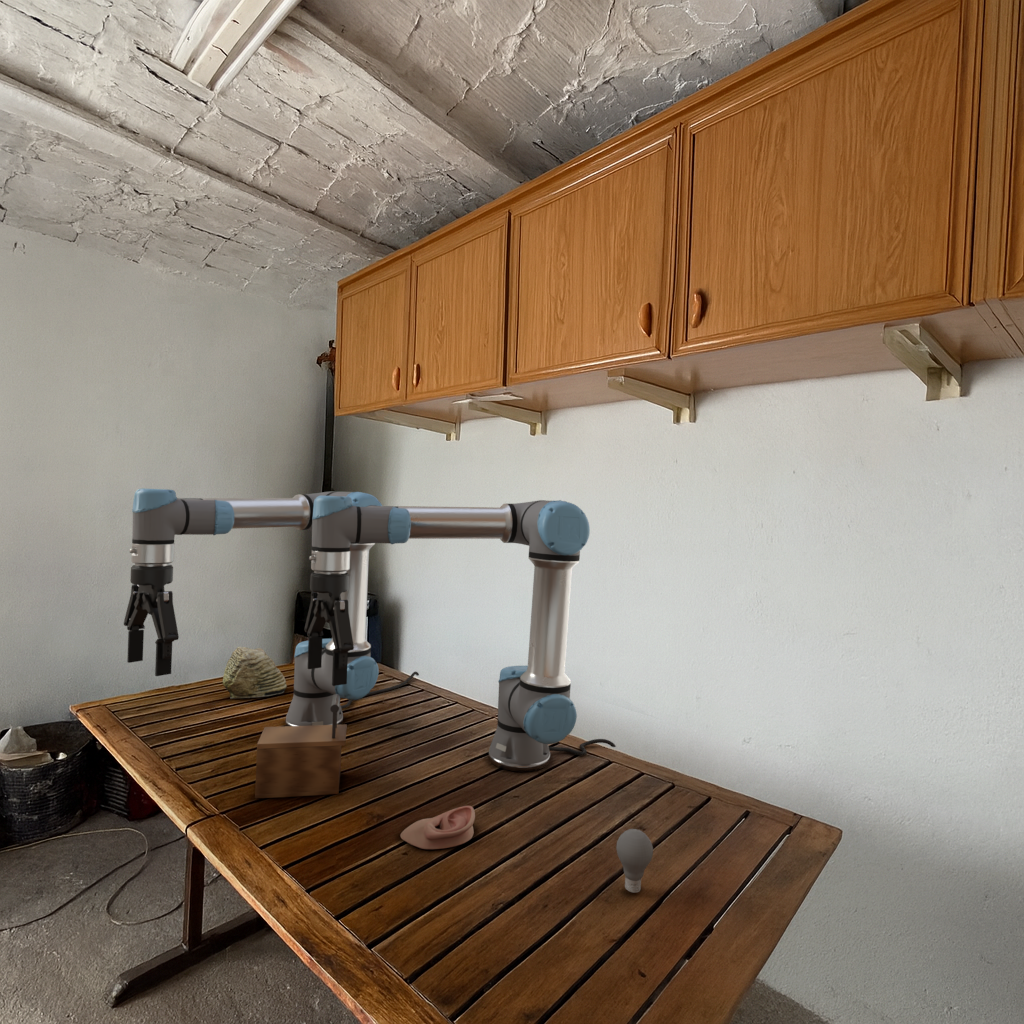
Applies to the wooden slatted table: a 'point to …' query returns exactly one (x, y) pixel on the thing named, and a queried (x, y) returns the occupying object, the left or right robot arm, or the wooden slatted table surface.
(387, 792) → the wooden slatted table surface
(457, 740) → the wooden slatted table surface
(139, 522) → the left robot arm
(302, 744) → the lid
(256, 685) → the fossil
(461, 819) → the anatomical model
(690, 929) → the wooden slatted table surface
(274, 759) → the chest
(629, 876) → the light bulb
